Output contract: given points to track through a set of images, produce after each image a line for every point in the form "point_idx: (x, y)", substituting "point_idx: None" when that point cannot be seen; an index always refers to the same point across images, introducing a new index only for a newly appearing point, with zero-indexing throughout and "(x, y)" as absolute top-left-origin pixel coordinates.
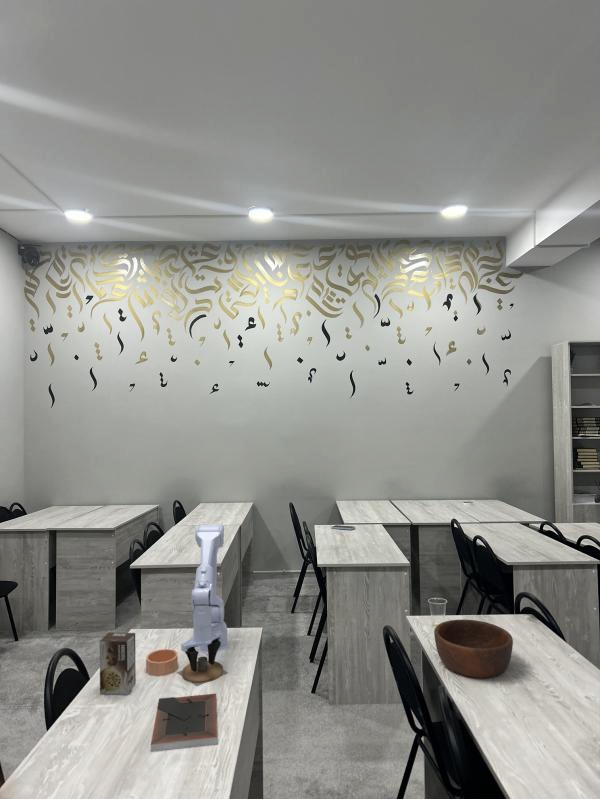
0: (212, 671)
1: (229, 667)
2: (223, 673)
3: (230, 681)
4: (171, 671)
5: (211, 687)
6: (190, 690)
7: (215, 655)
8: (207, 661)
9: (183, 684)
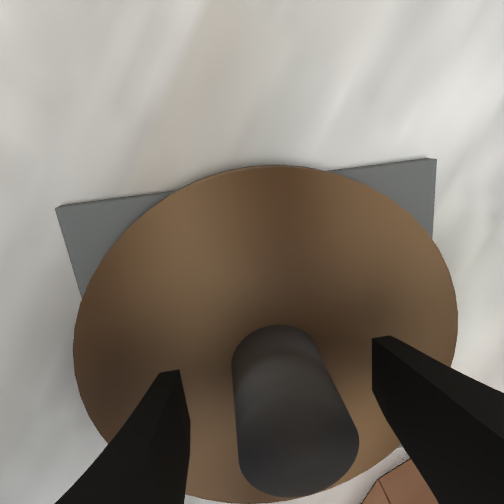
0: (215, 281)
1: (5, 324)
2: (111, 227)
3: (100, 51)
4: None
5: (323, 69)
6: (488, 149)
7: (118, 440)
8: None
9: (467, 276)
